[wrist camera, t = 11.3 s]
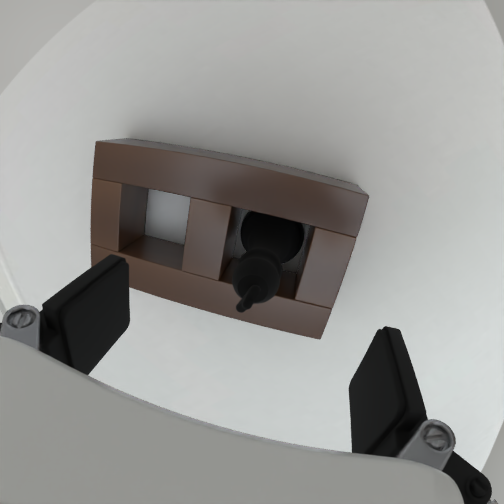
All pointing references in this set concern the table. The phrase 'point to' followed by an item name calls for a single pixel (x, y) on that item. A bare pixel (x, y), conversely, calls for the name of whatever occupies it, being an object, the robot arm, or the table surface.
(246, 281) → the chess piece
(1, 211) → the table surface
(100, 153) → the socket base
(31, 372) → the robot arm
